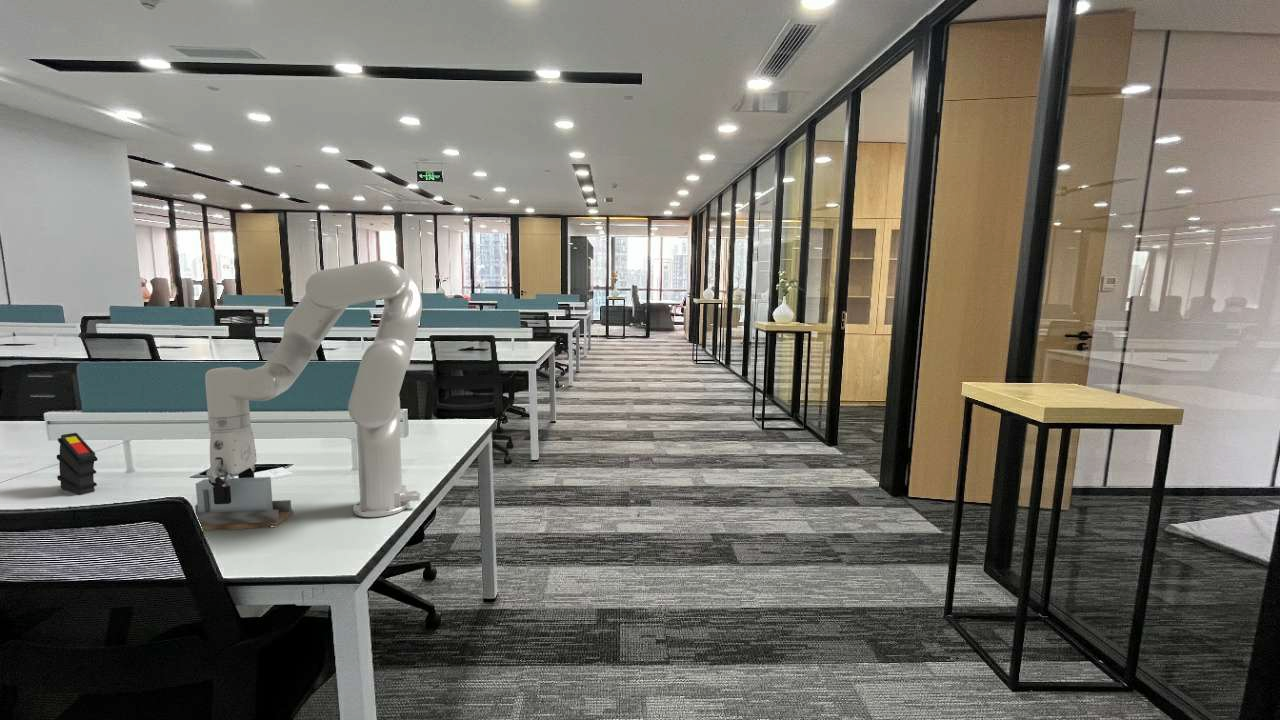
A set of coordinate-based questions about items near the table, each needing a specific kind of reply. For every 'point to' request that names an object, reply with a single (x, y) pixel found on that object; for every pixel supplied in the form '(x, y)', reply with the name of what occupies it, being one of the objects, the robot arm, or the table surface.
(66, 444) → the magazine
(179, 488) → the table surface
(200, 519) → the track base
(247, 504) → the door panel
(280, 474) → the external hard drive
